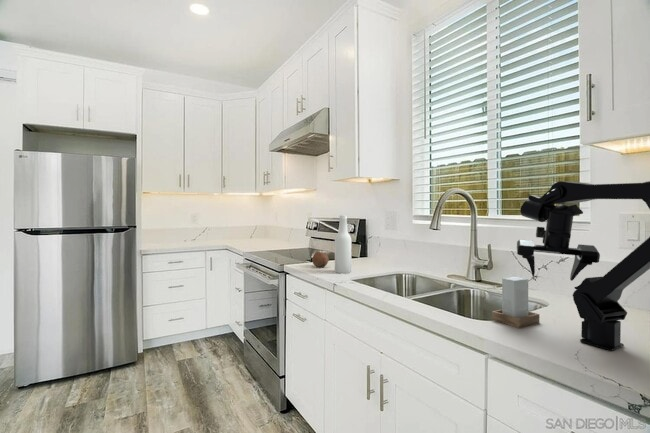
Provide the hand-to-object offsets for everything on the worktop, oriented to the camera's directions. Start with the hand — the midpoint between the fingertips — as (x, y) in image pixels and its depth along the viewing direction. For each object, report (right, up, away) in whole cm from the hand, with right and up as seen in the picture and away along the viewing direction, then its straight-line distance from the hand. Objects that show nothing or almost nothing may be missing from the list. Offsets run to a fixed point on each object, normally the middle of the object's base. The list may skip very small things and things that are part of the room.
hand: (551, 277), depth 97 cm
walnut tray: (-9, -13, +2) cm, 16 cm away
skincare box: (-10, -13, +2) cm, 16 cm away
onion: (-68, -12, +96) cm, 118 cm away
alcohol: (-56, -12, +80) cm, 98 cm away
